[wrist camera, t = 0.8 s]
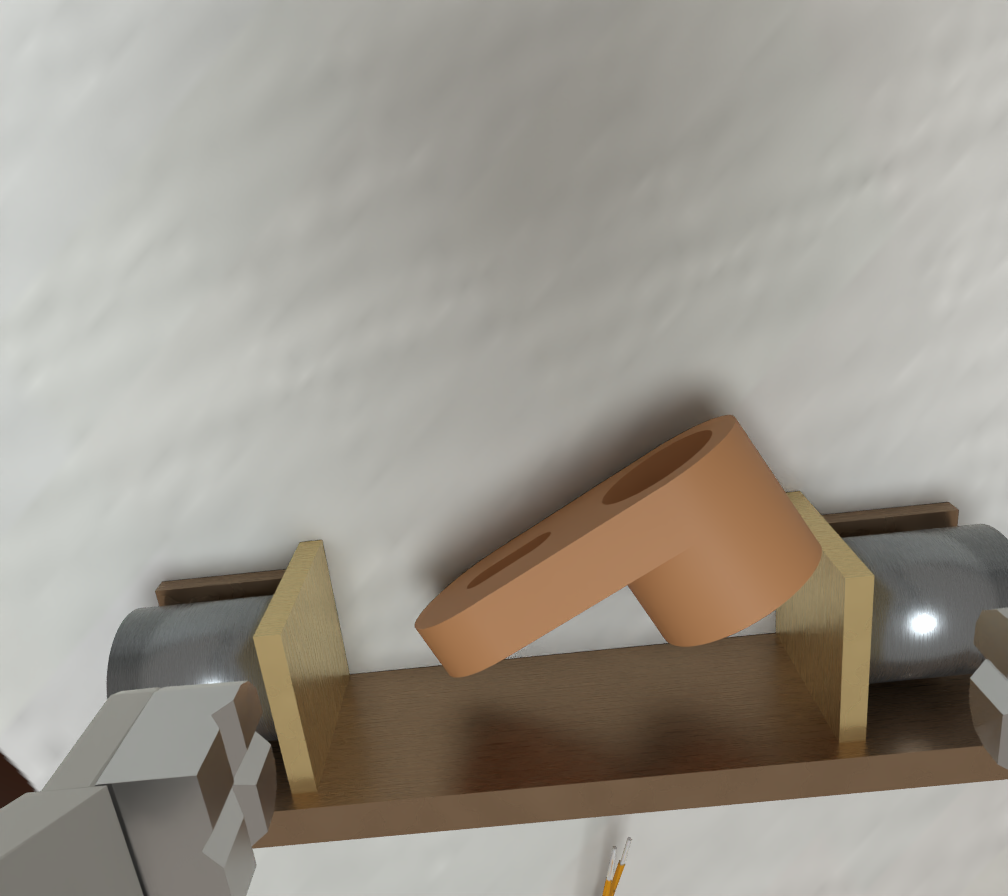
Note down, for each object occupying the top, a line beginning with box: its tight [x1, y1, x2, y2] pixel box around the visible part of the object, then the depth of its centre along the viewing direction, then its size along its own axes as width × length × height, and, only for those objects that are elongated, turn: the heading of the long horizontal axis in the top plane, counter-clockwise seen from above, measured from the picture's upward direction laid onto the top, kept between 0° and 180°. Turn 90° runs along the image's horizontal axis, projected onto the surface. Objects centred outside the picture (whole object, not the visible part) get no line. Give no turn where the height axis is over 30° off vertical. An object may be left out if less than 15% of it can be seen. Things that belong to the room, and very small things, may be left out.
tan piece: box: [415, 415, 822, 677], centre depth 39 cm, size 18×8×7 cm
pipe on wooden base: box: [107, 491, 1008, 848], centre depth 40 cm, size 10×44×10 cm, turn 96°
